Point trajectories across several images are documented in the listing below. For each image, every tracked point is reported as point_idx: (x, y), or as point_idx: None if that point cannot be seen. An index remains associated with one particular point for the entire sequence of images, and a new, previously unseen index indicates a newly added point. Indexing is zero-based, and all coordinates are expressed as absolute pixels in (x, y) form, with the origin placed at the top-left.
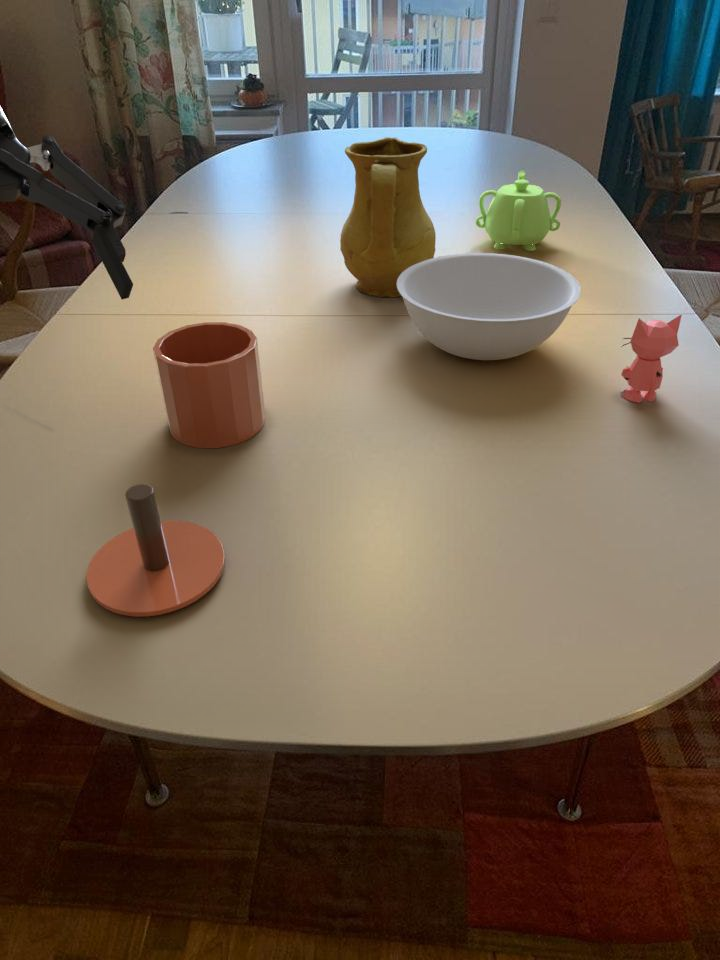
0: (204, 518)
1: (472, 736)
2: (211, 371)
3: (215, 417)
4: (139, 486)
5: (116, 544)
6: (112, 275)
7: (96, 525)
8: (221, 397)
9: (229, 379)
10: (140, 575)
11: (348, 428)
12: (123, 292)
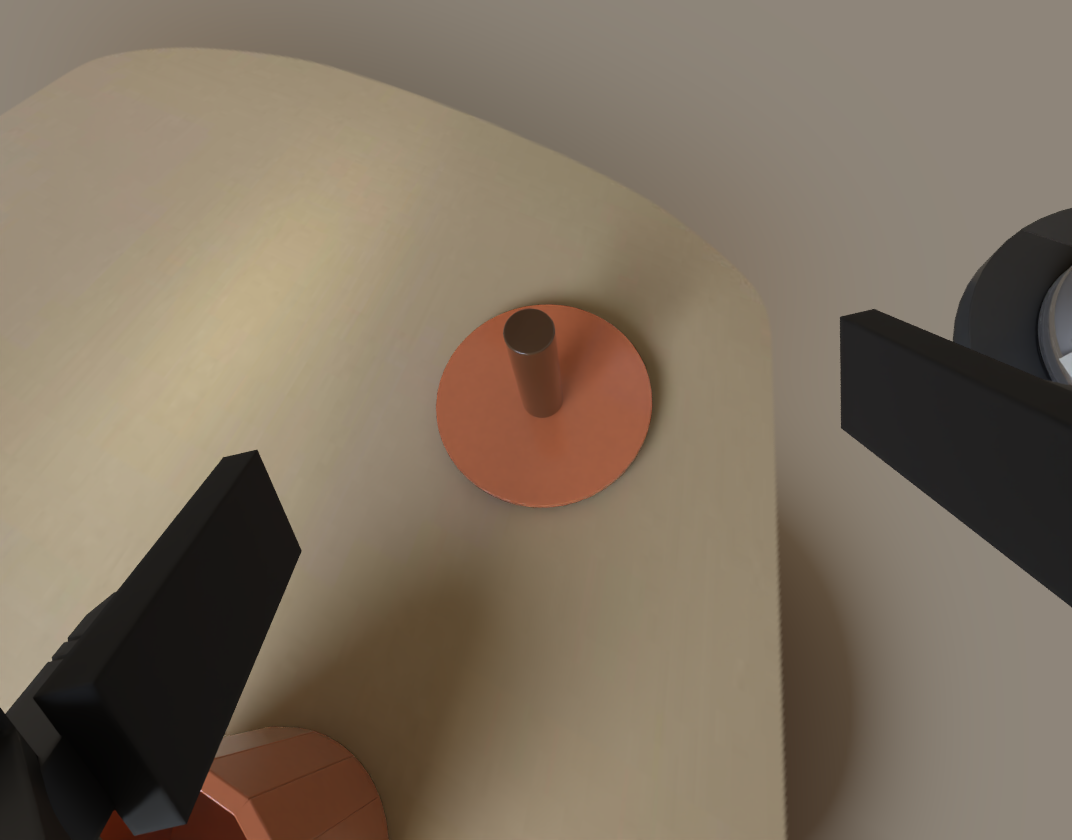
0: (435, 502)
1: (334, 68)
2: None
3: (279, 740)
4: (524, 344)
5: (592, 472)
6: (259, 583)
7: (616, 574)
8: (230, 744)
9: None
10: (572, 381)
11: None
12: (279, 504)
